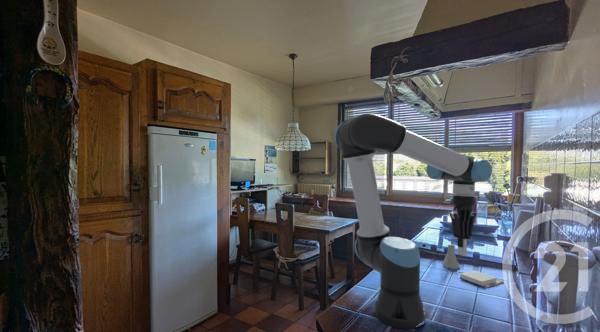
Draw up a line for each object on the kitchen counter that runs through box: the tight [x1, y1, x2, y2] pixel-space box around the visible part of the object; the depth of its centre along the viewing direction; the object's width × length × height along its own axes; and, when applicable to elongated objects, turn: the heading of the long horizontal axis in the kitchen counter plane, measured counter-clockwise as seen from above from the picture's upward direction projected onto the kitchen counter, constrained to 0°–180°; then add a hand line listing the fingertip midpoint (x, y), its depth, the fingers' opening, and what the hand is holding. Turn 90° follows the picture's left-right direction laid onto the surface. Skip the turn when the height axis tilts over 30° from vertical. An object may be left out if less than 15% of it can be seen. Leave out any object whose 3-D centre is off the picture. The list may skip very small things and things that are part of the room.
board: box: [459, 275, 504, 289], centre depth 118 cm, size 11×11×1 cm
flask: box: [442, 244, 461, 270], centre depth 134 cm, size 7×7×10 cm
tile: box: [460, 270, 497, 287], centre depth 118 cm, size 2×9×9 cm
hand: (462, 254), depth 113 cm, fingers closed
